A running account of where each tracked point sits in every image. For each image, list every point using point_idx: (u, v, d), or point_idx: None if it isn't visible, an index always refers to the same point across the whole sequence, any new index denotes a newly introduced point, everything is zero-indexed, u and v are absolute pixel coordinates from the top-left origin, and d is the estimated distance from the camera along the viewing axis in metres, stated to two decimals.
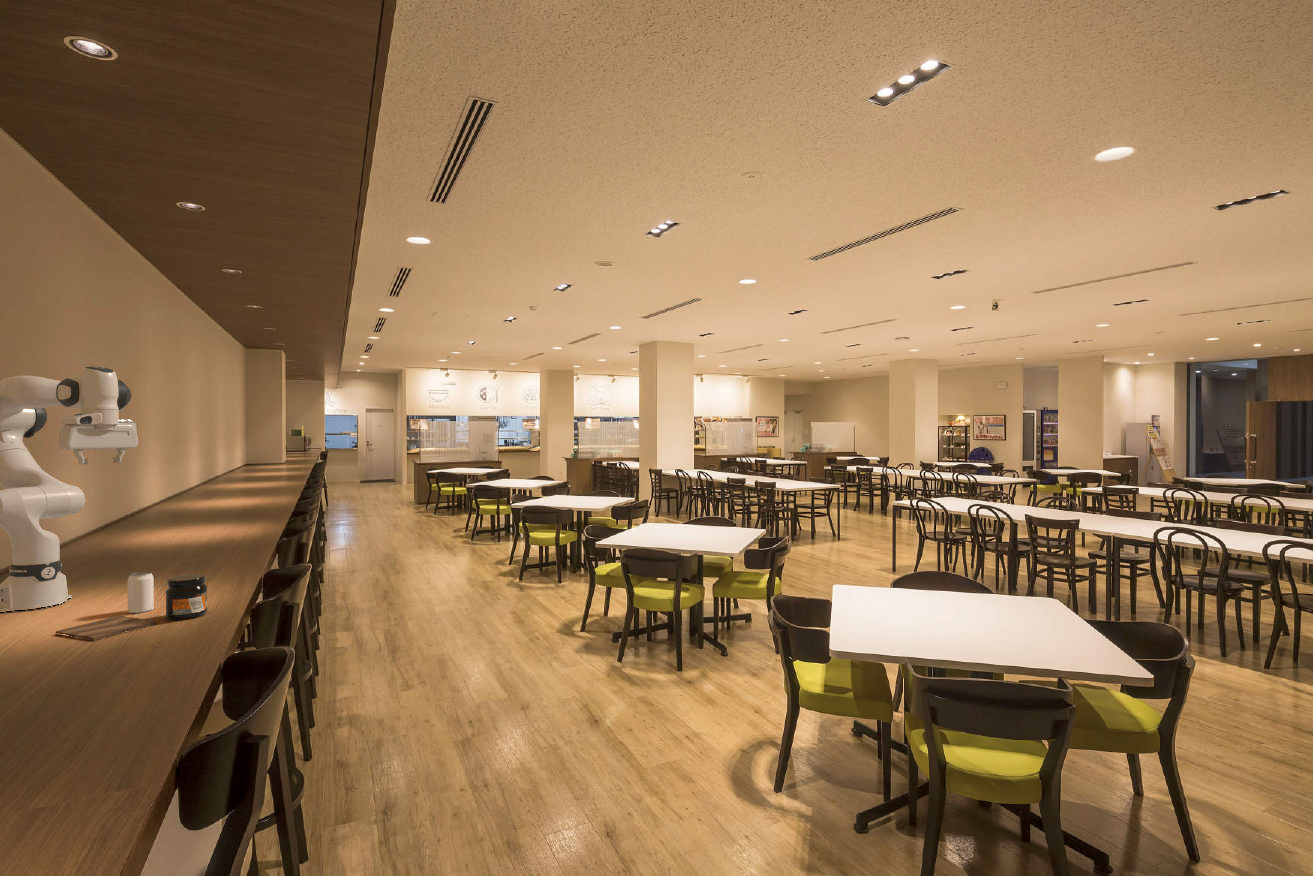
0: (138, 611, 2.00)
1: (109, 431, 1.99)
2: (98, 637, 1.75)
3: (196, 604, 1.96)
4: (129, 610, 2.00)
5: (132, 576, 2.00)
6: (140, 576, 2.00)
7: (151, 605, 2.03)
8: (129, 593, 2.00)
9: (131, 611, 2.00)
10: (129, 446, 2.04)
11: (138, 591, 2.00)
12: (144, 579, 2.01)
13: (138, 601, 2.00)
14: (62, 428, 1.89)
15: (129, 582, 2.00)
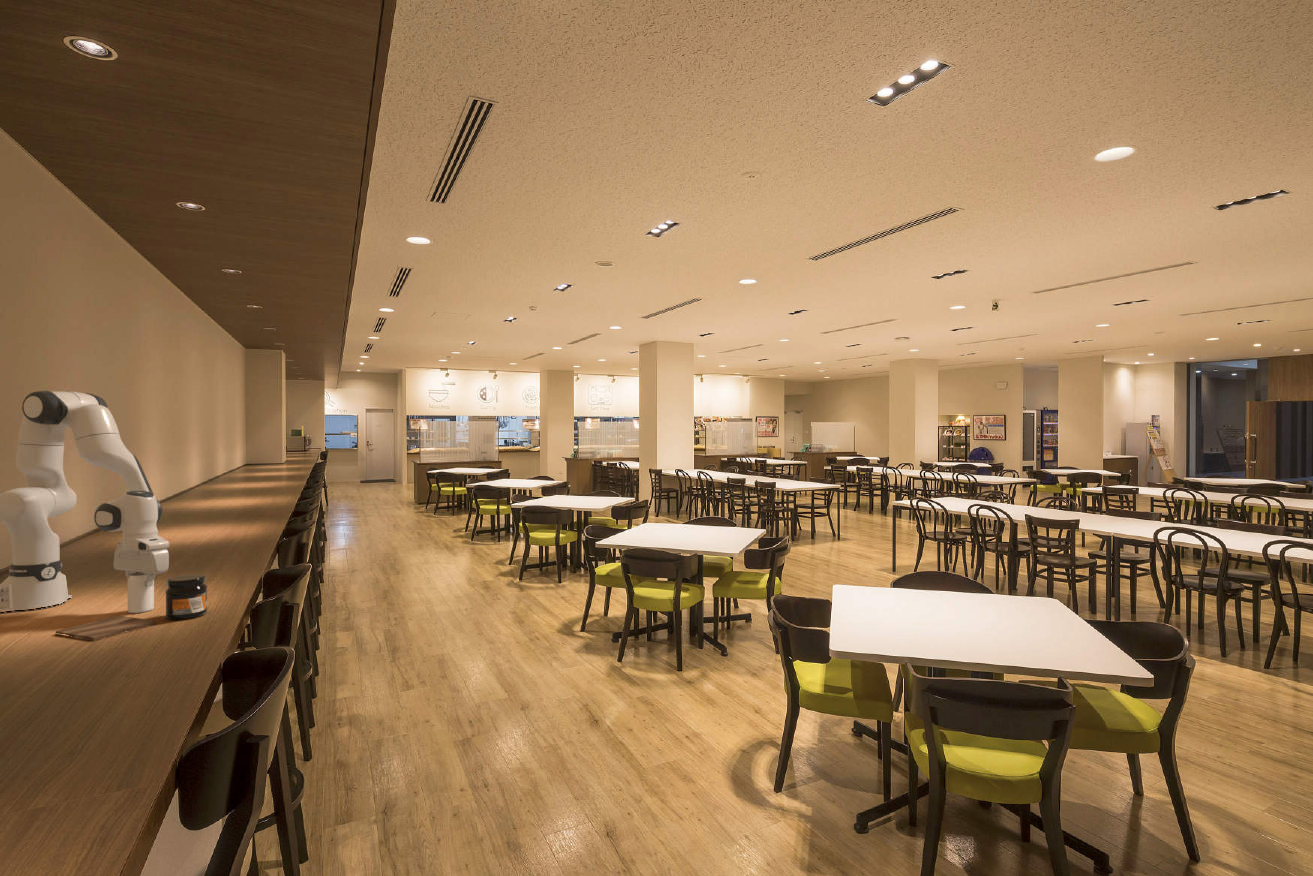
0: (138, 611, 2.00)
1: None
2: (98, 637, 1.75)
3: (196, 603, 1.96)
4: (129, 610, 2.00)
5: (132, 576, 2.00)
6: (140, 576, 2.00)
7: (151, 605, 2.03)
8: (129, 592, 2.00)
9: (131, 611, 2.00)
10: None
11: (138, 591, 2.00)
12: (145, 579, 2.01)
13: (138, 601, 2.00)
14: (156, 554, 1.98)
15: (129, 582, 2.00)
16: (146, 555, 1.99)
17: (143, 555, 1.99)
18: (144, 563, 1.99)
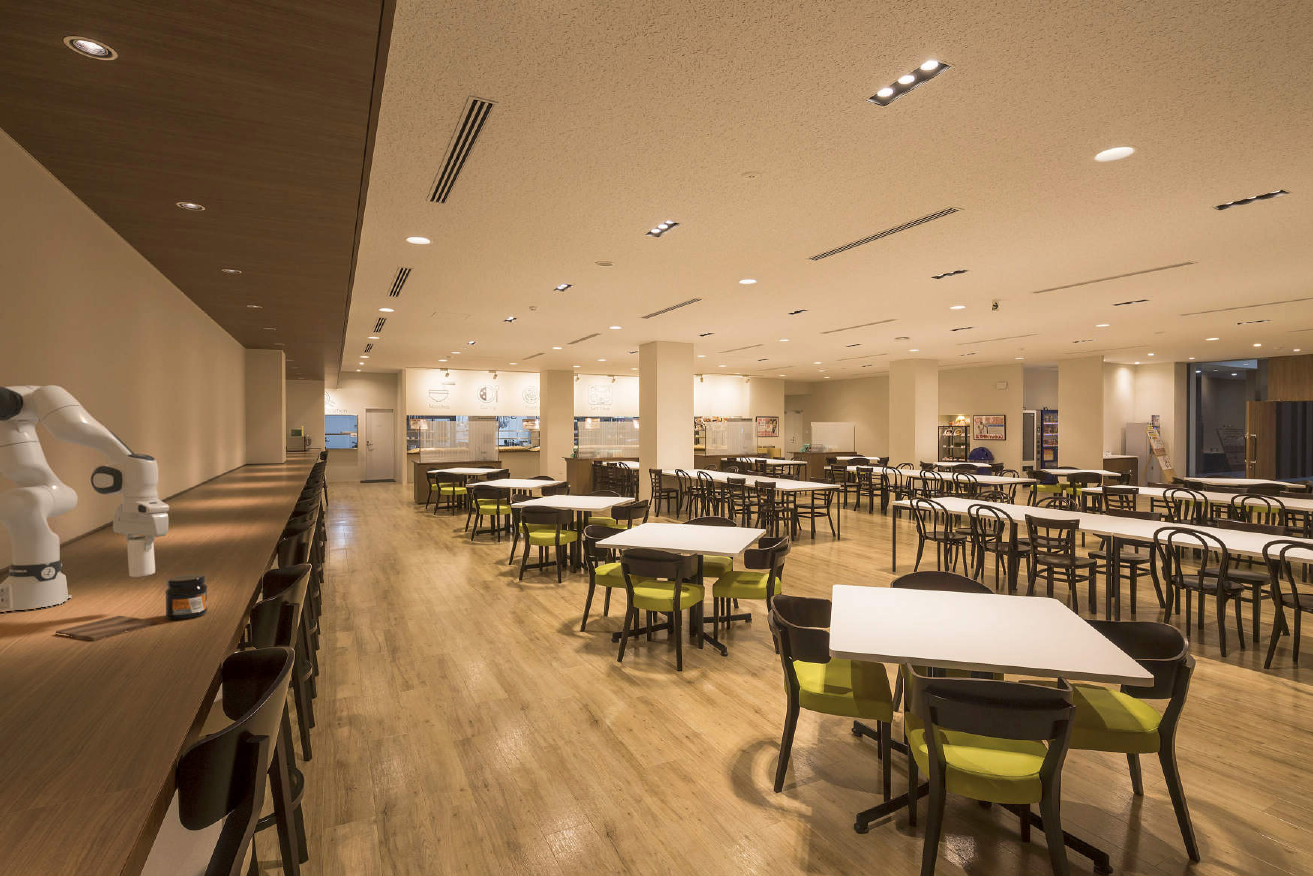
0: (139, 575, 2.00)
1: None
2: (98, 637, 1.75)
3: (196, 604, 1.96)
4: (130, 574, 2.00)
5: (131, 540, 1.99)
6: (139, 540, 2.00)
7: (152, 569, 2.03)
8: (129, 557, 2.00)
9: (132, 575, 2.00)
10: None
11: (138, 555, 2.00)
12: (144, 543, 2.00)
13: (138, 565, 2.00)
14: (156, 517, 1.98)
15: (129, 546, 1.99)
16: (146, 518, 1.99)
17: (143, 518, 1.99)
18: (144, 525, 1.99)
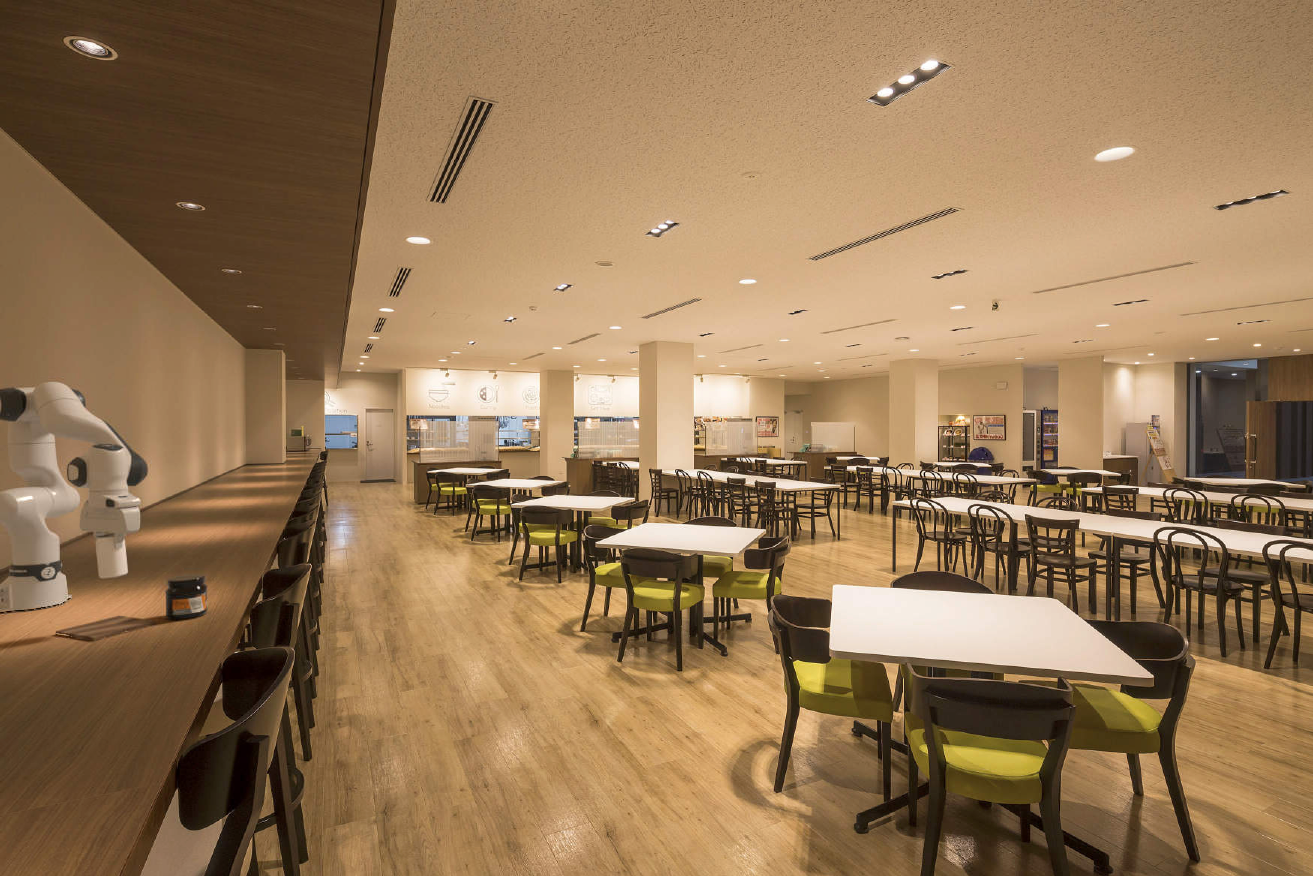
0: (109, 576, 1.82)
1: None
2: (98, 637, 1.75)
3: (196, 604, 1.96)
4: (100, 575, 1.82)
5: (100, 538, 1.82)
6: (108, 538, 1.82)
7: (124, 569, 1.85)
8: (98, 556, 1.82)
9: (102, 576, 1.82)
10: None
11: (107, 554, 1.82)
12: None
13: (108, 566, 1.82)
14: (126, 512, 1.81)
15: (97, 545, 1.82)
16: (114, 513, 1.81)
17: (111, 513, 1.82)
18: (113, 522, 1.82)
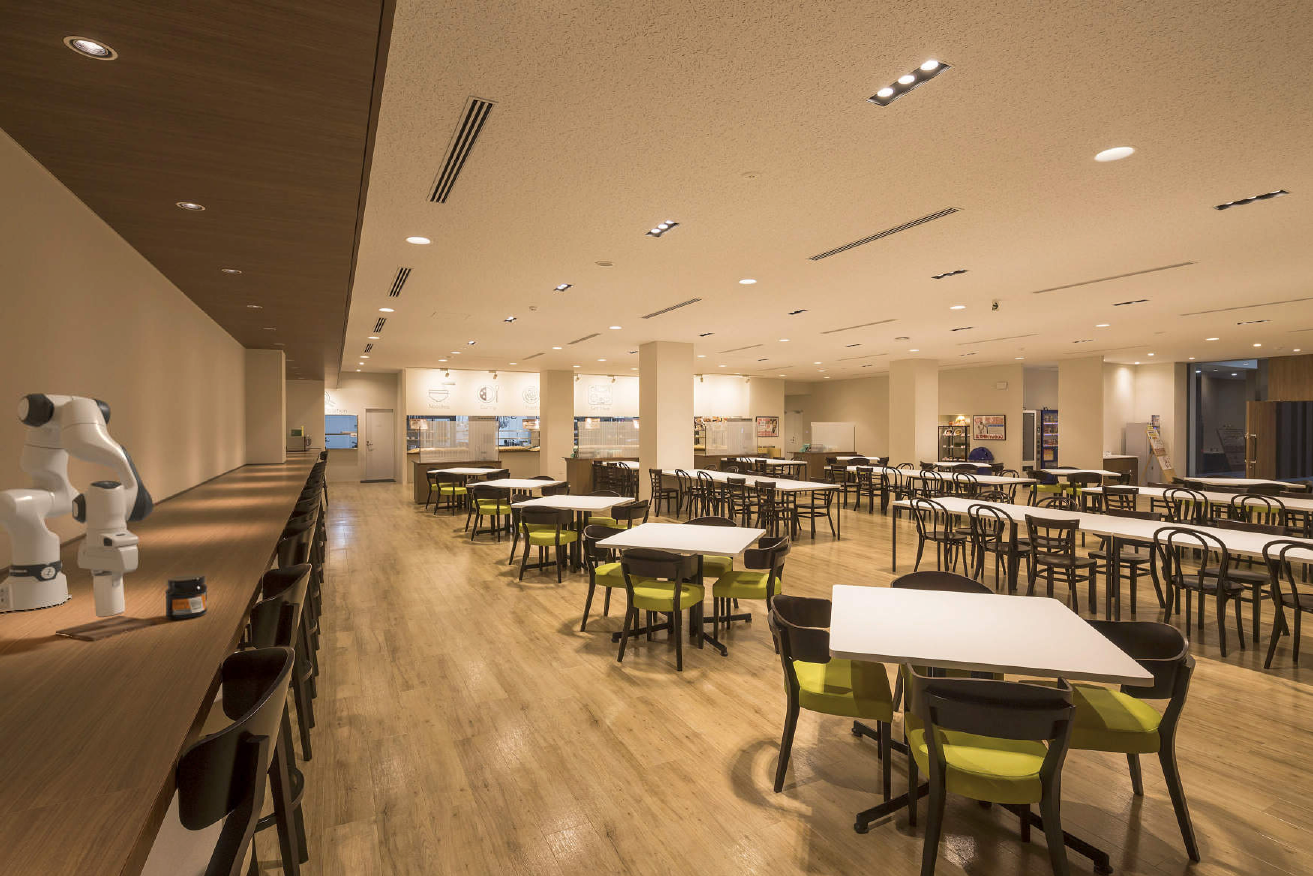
0: (107, 614, 1.82)
1: None
2: (98, 637, 1.75)
3: (196, 604, 1.96)
4: (97, 614, 1.82)
5: (97, 577, 1.81)
6: (106, 576, 1.81)
7: (121, 607, 1.84)
8: (95, 595, 1.81)
9: (99, 615, 1.81)
10: None
11: (104, 593, 1.81)
12: (111, 580, 1.82)
13: (105, 604, 1.81)
14: (123, 550, 1.80)
15: (94, 583, 1.81)
16: (112, 552, 1.80)
17: (109, 552, 1.81)
18: (111, 560, 1.81)
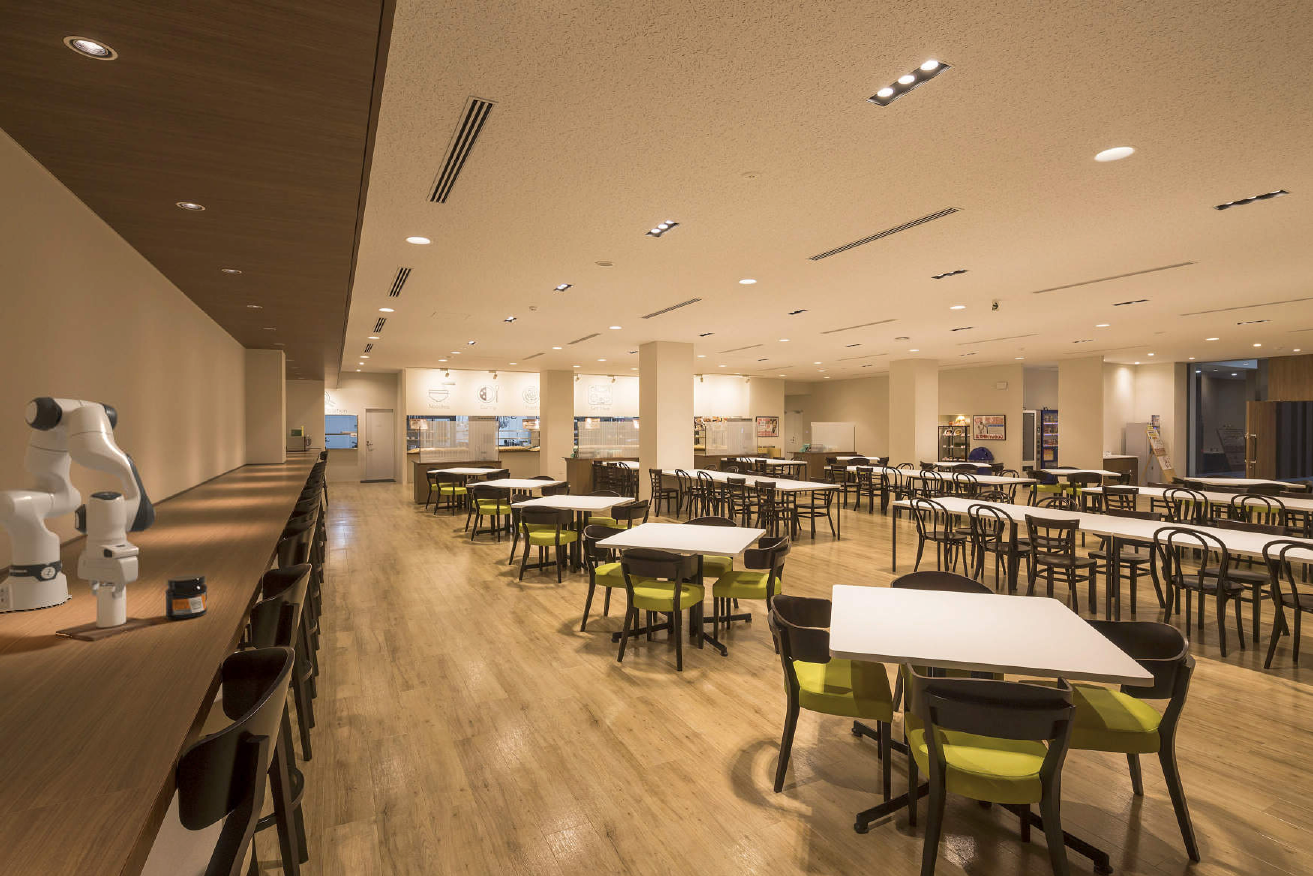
0: (107, 625, 1.82)
1: None
2: (98, 637, 1.75)
3: (196, 604, 1.96)
4: (98, 624, 1.82)
5: (101, 586, 1.82)
6: (110, 587, 1.82)
7: (122, 619, 1.84)
8: (97, 605, 1.82)
9: (99, 625, 1.81)
10: None
11: (107, 603, 1.82)
12: None
13: (106, 615, 1.82)
14: (124, 562, 1.80)
15: (98, 593, 1.82)
16: (112, 563, 1.80)
17: (109, 563, 1.81)
18: (111, 571, 1.81)
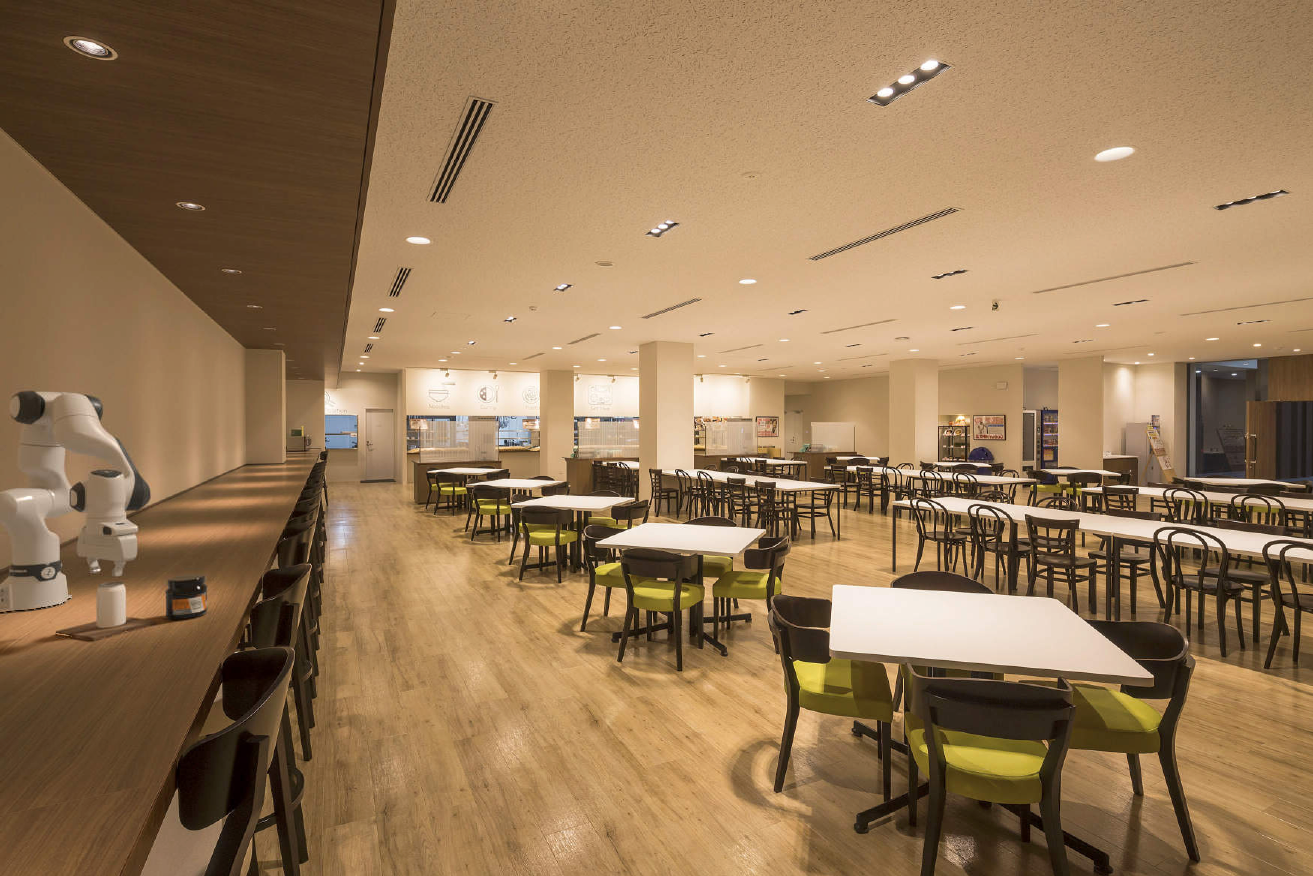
0: (107, 626, 1.82)
1: None
2: (98, 637, 1.75)
3: (196, 604, 1.96)
4: (97, 625, 1.82)
5: (101, 587, 1.82)
6: (109, 588, 1.82)
7: (122, 619, 1.84)
8: (97, 605, 1.81)
9: (99, 626, 1.81)
10: None
11: (106, 604, 1.81)
12: (114, 591, 1.82)
13: (106, 616, 1.81)
14: (123, 539, 1.80)
15: (97, 594, 1.81)
16: (111, 540, 1.80)
17: (108, 541, 1.81)
18: (110, 549, 1.81)
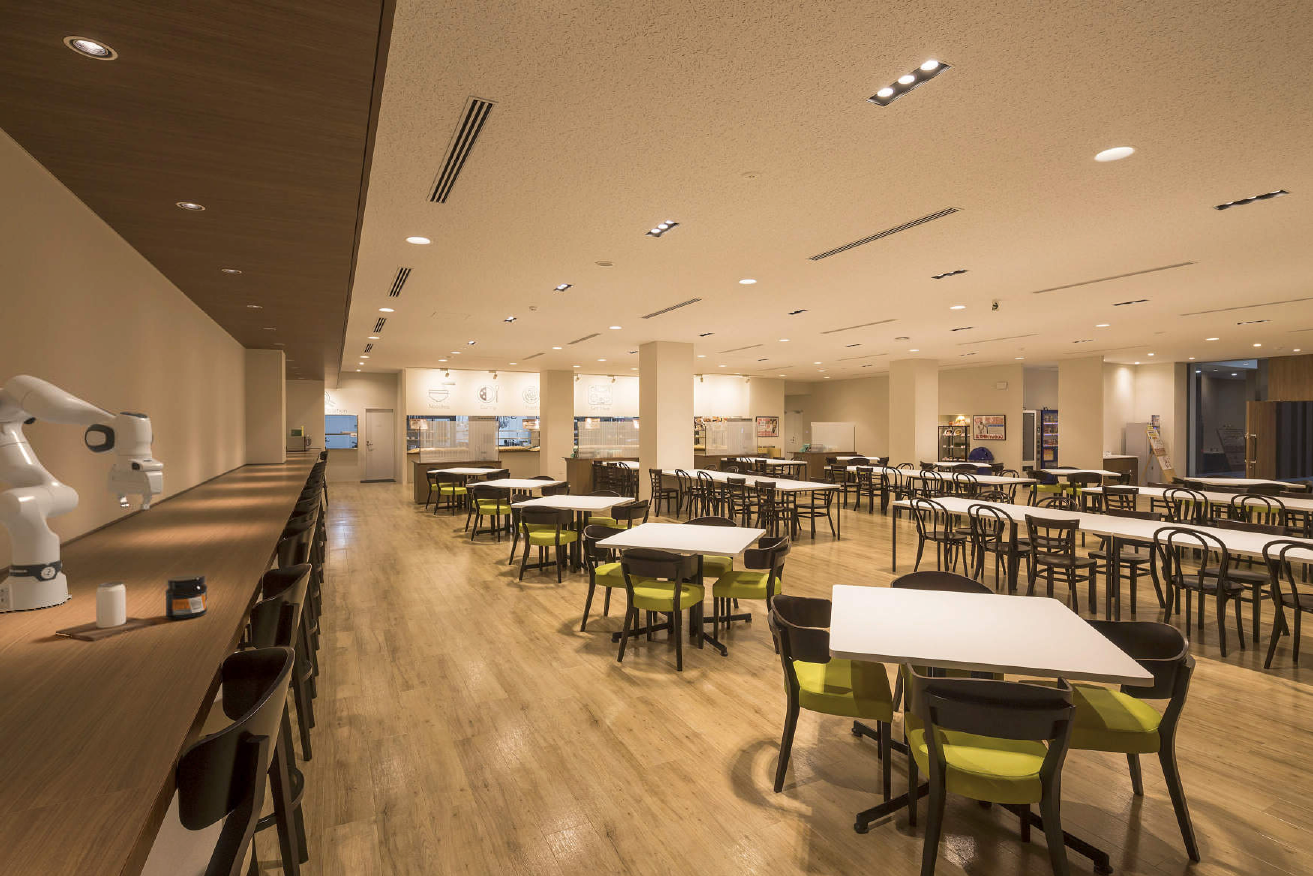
0: (107, 626, 1.82)
1: None
2: (98, 637, 1.75)
3: (196, 604, 1.96)
4: (97, 625, 1.82)
5: (100, 587, 1.82)
6: (109, 587, 1.82)
7: (122, 619, 1.84)
8: (97, 605, 1.81)
9: (99, 626, 1.81)
10: None
11: (106, 604, 1.81)
12: (113, 591, 1.82)
13: (106, 616, 1.81)
14: (150, 474, 1.95)
15: (97, 594, 1.81)
16: (140, 476, 1.95)
17: (137, 476, 1.96)
18: (138, 484, 1.95)
